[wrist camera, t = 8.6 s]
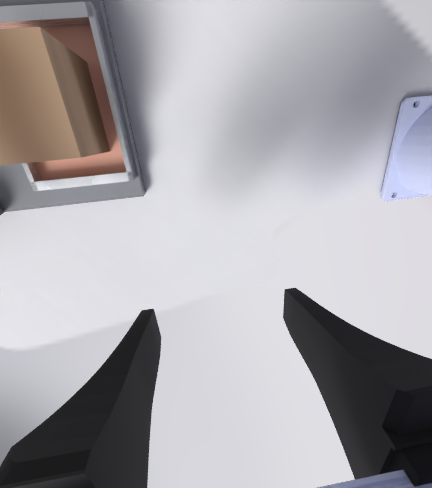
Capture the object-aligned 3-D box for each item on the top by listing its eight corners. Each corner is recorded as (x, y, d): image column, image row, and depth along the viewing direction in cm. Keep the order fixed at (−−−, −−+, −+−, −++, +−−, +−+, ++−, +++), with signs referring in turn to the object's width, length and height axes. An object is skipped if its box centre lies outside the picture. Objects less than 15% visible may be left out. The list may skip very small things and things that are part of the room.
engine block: (86, 61, 14) (39, 26, 9) (110, 151, 16) (81, 157, 12) (16, 66, 14) (-67, 33, 9) (50, 157, 16) (-4, 165, 11)
